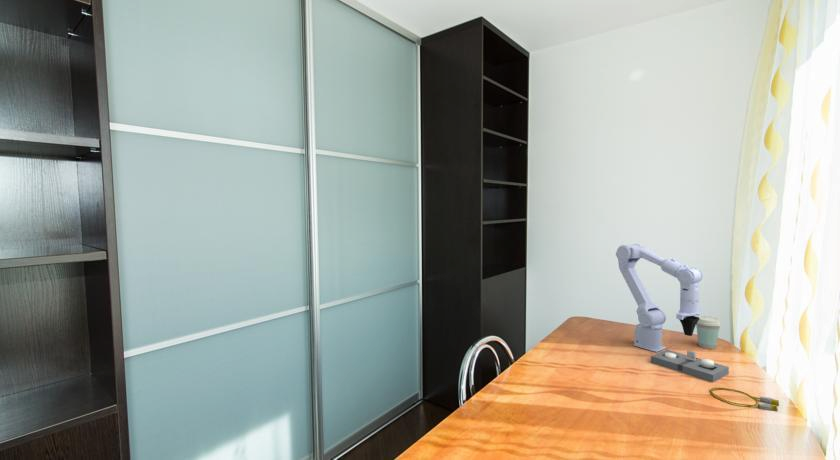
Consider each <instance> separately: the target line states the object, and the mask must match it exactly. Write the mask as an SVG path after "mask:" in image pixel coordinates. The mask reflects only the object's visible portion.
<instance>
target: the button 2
mask: <svg viewBox="0 0 840 460" xmlns="http://www.w3.org/2000/svg"><path fill="white" fill-rule="evenodd" d="M700 359H701V365H702V366H703V367H706V368H714V363H715V361H714V359H711V358H705V357H704V358H700Z"/></svg>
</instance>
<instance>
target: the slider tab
mask: <svg viewBox="0 0 840 460" xmlns="http://www.w3.org/2000/svg"><path fill="white" fill-rule="evenodd" d="M696 354H697V353H696V352H695V351H692V350H687V351H686V355H687V358H685V359H688V360H691V361H696V360H697V359H696V358H697V357H696V356H697V355H696Z"/></svg>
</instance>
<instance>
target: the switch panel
mask: <svg viewBox="0 0 840 460" xmlns="http://www.w3.org/2000/svg"><path fill="white" fill-rule="evenodd" d="M665 352H671V353H674V354H676V358H675V359H672V358H668V357H665ZM685 358H687V354H685V353H680V352H677V351H673V350H670V349H664V350H661V351H659V352H658V353H657V352H656V353H655V354H653V355H652V354H651V355H650V363H651V364H655V365H658V366H659V367H664V368H667V369H670V370H674V371H676V372H678V373H682V374H686V375H689V376H692V377H695V378H698V379H702V380H704V381H708V382H710V383H715V382H716V381H718V380H720V379H722V378H723V377H726V376H727V375H729V372H730V371H729V370H730V367H729V366H728V365H723V364H719V363H716V362H714V368H706V367H703V366H702V365H701V359H702V358H700V357H699V358H698V357H696V359H697V360H696V361H691V360H688V359H685Z"/></svg>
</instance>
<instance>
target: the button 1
mask: <svg viewBox="0 0 840 460" xmlns="http://www.w3.org/2000/svg"><path fill="white" fill-rule="evenodd" d="M665 357H668V358H672V359H675V358H676V354H674V353H671V352H665Z"/></svg>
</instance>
